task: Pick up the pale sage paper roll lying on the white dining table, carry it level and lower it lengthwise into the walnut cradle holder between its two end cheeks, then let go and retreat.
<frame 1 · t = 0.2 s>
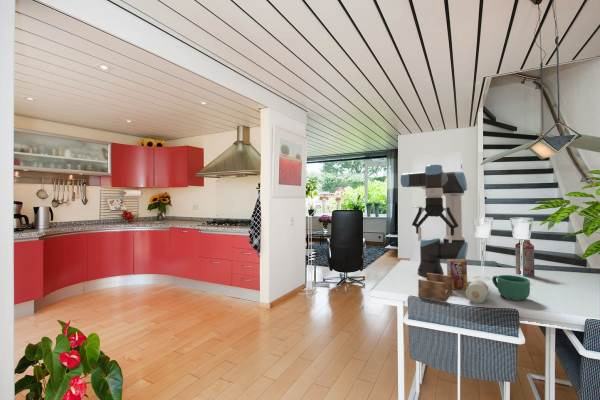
hand: (434, 241, 140), 27 cm above the table, fingers open, 13 cm apart
candy box: (457, 288, 157), on the table
juice carton: (525, 275, 184), on the table
mug: (509, 297, 142), on the table
roll: (477, 299, 138), on the table
cradle: (435, 293, 148), on the table
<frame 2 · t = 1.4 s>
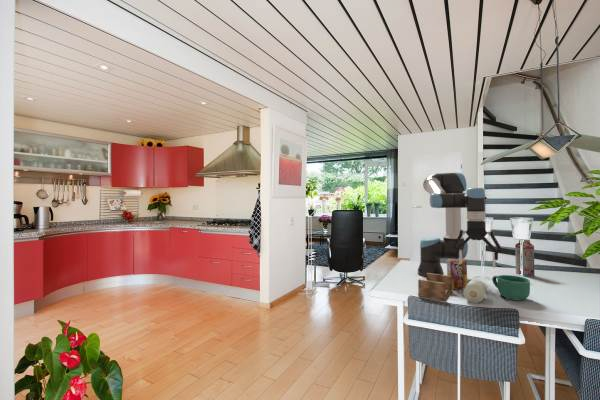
hand: (476, 265, 138), 16 cm above the table, fingers open, 13 cm apart
roll: (477, 299, 138), on the table, tilted 15°
everything else where it was.
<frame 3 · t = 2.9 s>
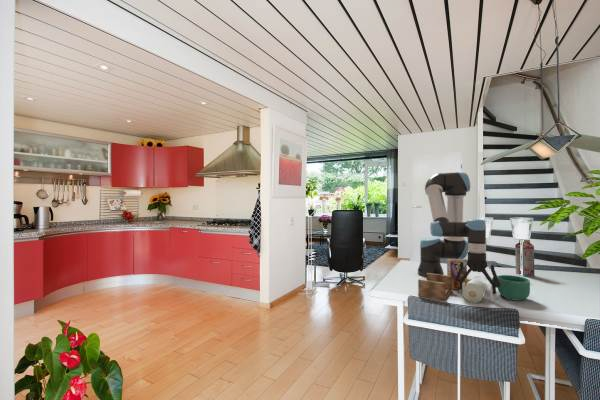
hand: (477, 298, 138), 1 cm above the table, fingers open, 11 cm apart
roll: (477, 299, 138), on the table, tilted 22°
everything else where it was.
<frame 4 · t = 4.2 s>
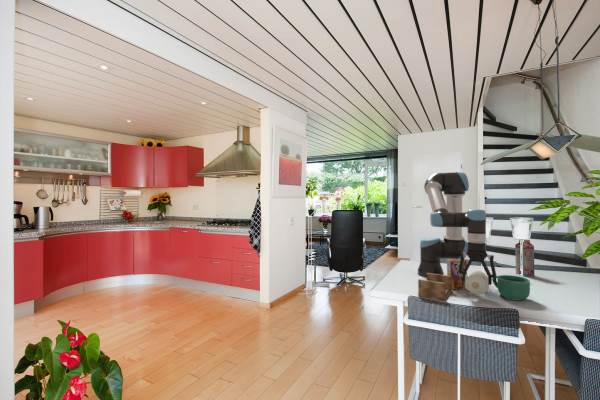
hand: (476, 289, 139), 5 cm above the table, fingers closed on roll, 8 cm apart
roll: (477, 290, 139), point 4 cm above the table, touching gripper
everything else where it was.
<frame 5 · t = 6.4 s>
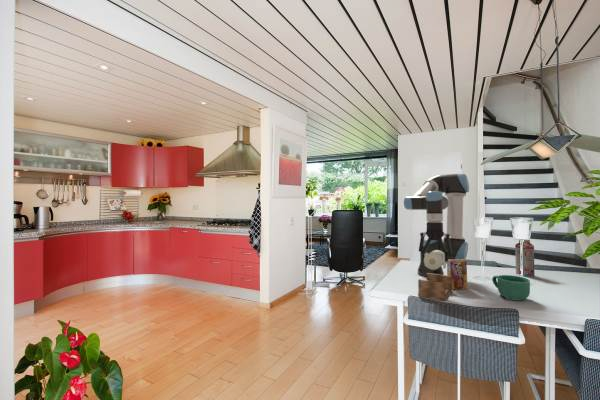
hand: (435, 266, 148), 14 cm above the table, fingers closed on roll, 8 cm apart
roll: (435, 267, 148), point 13 cm above the table, touching gripper
everything else where it was.
when the fingers open (3 cm above the table, at t = 8.6 s): roll drops 1 cm, resting on cradle.
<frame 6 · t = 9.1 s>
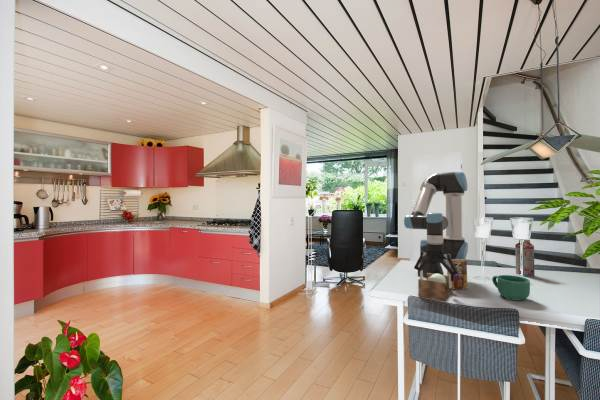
hand: (435, 285, 148), 4 cm above the table, fingers open, 13 cm apart
roll: (435, 291, 148), point 1 cm above the table, touching cradle
everything else where it was.
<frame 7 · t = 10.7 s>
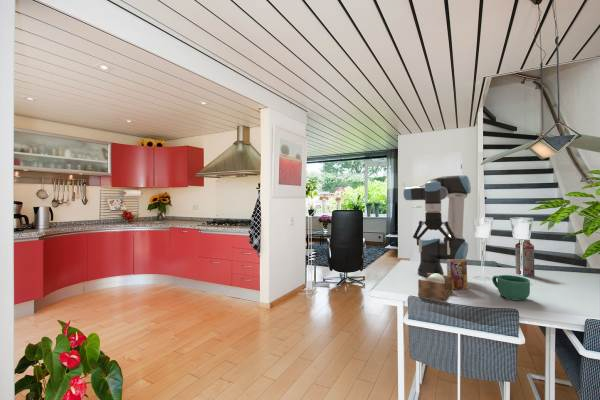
hand: (434, 253, 151), 20 cm above the table, fingers open, 13 cm apart
roll: (435, 291, 148), point 1 cm above the table, tilted 10°, touching cradle
everything else where it was.
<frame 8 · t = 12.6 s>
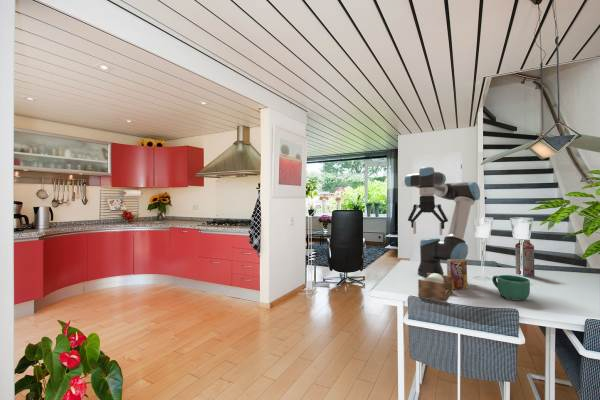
hand: (427, 234, 160), 29 cm above the table, fingers open, 13 cm apart
roll: (435, 291, 148), point 1 cm above the table, tilted 17°, touching cradle
everything else where it was.
at the end: roll 0.2 cm off-centre on the cradle, point 1.2 cm above the cradle's base; the gripper is holding nothing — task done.
